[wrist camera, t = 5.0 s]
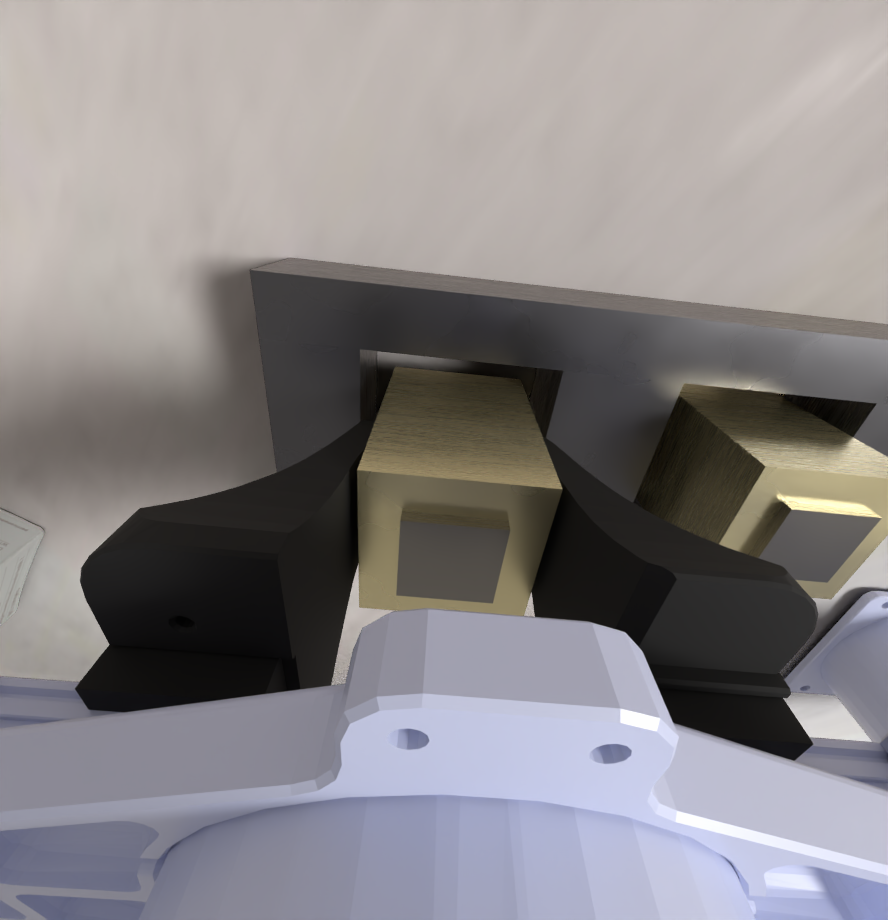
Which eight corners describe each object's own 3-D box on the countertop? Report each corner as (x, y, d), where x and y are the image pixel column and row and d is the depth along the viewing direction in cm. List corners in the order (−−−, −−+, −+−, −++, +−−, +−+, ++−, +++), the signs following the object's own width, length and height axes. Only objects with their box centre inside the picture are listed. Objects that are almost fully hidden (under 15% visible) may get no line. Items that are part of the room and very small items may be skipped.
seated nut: (765, 387, 15) (946, 490, 9) (715, 479, 17) (839, 608, 11) (655, 375, 14) (774, 473, 9) (618, 470, 17) (698, 595, 11)
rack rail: (909, 326, 13) (1017, 354, 11) (768, 534, 18) (820, 588, 15) (291, 258, 13) (250, 270, 10) (311, 492, 17) (286, 541, 15)
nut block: (520, 379, 13) (566, 498, 8) (499, 481, 15) (524, 631, 10) (395, 366, 13) (353, 478, 8) (391, 471, 15) (356, 618, 10)
